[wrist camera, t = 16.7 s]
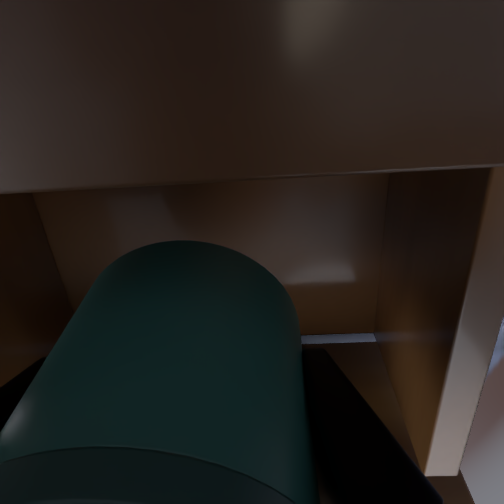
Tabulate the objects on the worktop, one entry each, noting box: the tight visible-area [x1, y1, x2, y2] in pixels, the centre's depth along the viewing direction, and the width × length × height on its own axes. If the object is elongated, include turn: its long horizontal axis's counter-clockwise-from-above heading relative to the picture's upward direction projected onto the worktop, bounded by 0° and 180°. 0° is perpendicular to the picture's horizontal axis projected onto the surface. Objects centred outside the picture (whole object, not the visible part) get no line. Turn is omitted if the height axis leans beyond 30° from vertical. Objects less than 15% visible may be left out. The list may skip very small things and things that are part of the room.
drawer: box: [0, 167, 504, 504], centre depth 12 cm, size 18×13×6 cm
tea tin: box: [0, 240, 320, 504], centre depth 7 cm, size 5×5×5 cm
